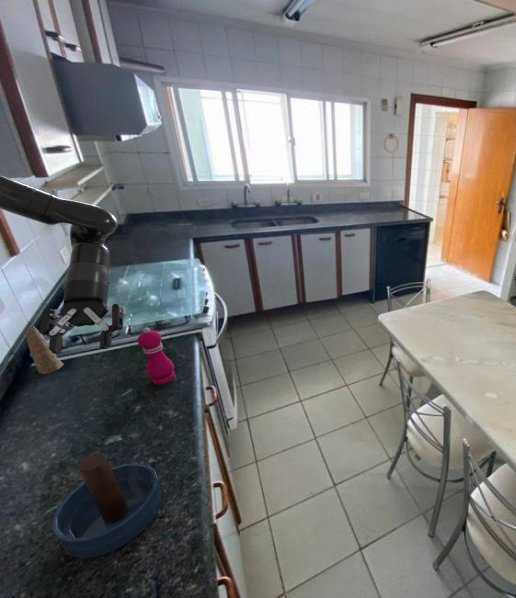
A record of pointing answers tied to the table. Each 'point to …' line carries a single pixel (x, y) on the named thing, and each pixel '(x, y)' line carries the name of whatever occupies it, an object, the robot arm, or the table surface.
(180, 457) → the table surface
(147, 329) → the pepper mill
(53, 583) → the table surface
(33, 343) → the tan tapered cone
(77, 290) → the robot arm
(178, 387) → the table surface
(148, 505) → the bowl
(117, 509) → the brown cylinder
